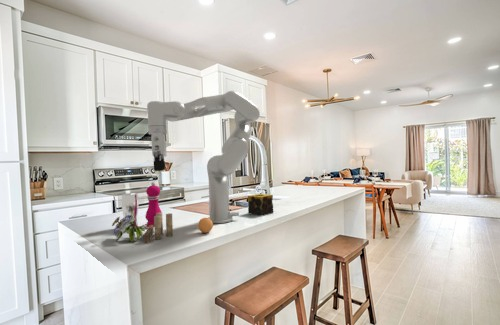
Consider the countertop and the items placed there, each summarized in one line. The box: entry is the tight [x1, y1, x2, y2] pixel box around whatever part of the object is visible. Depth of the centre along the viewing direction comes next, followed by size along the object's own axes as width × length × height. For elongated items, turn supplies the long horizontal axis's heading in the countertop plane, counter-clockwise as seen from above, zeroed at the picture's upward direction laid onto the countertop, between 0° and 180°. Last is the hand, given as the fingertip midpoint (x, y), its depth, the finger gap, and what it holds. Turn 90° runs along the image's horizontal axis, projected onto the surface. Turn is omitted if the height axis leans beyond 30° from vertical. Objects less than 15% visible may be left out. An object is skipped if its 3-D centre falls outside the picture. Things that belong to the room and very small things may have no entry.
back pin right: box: [156, 212, 164, 236], centre depth 105 cm, size 2×2×8 cm
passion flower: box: [111, 212, 148, 243], centre depth 100 cm, size 11×11×12 cm
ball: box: [197, 217, 214, 234], centre depth 106 cm, size 6×6×6 cm
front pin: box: [165, 213, 174, 238], centre depth 103 cm, size 2×2×8 cm
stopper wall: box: [143, 225, 155, 244], centre depth 101 cm, size 2×15×3 cm, turn 14°
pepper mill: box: [145, 181, 163, 228], centre depth 120 cm, size 7×7×20 cm
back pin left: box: [153, 216, 162, 241], centre depth 99 cm, size 2×2×8 cm
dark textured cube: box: [247, 193, 274, 216], centre depth 143 cm, size 10×10×10 cm
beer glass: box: [120, 192, 140, 228], centre depth 117 cm, size 7×7×15 cm
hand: (159, 170), depth 113 cm, fingers open, 9 cm apart
